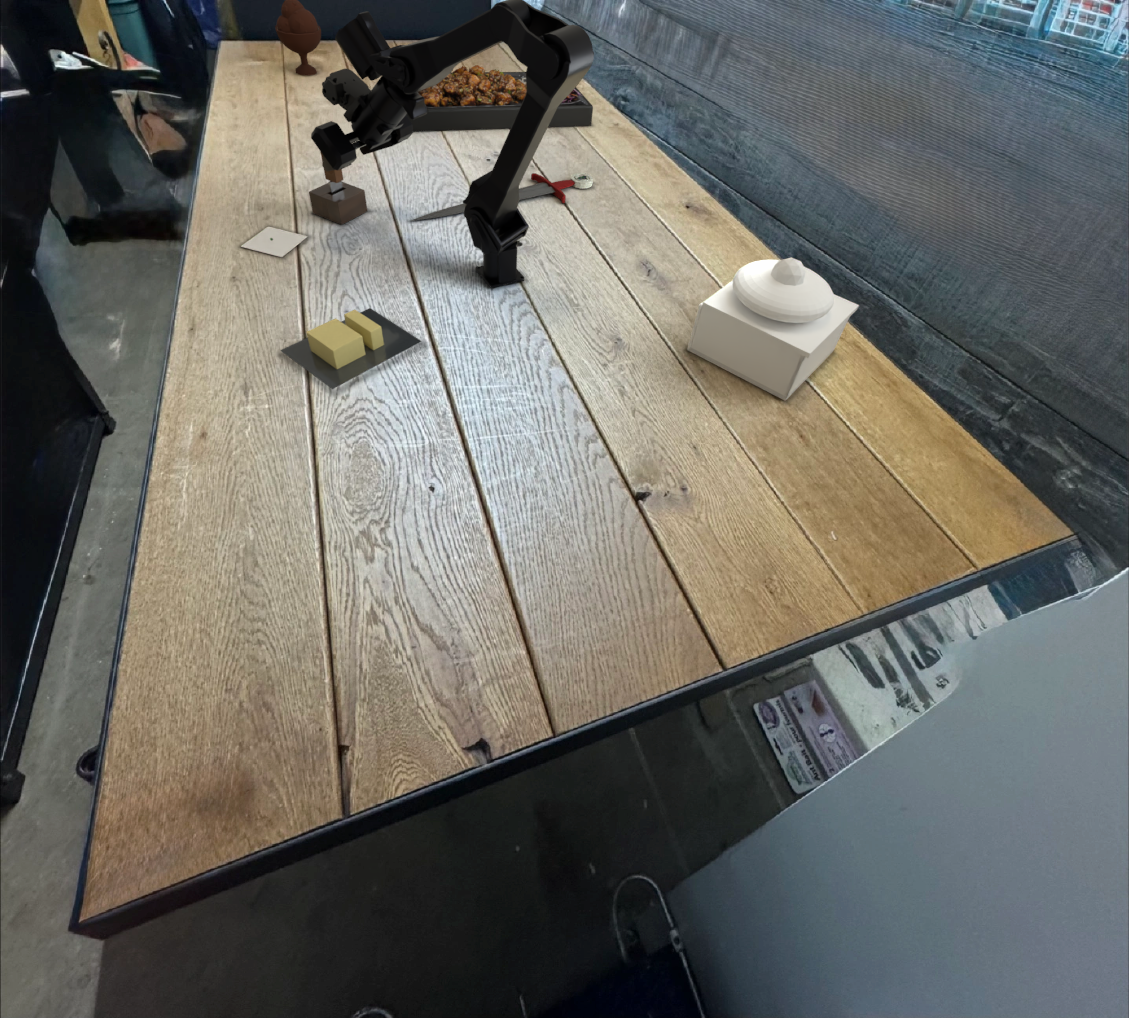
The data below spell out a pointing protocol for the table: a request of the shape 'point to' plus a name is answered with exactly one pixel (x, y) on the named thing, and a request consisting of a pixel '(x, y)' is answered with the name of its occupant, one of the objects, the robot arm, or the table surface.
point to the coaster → (274, 241)
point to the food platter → (489, 102)
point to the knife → (334, 179)
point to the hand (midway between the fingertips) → (343, 159)
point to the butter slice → (365, 329)
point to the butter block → (336, 343)
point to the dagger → (530, 191)
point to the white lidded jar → (771, 325)
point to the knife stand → (338, 203)
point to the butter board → (393, 345)
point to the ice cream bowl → (298, 33)
